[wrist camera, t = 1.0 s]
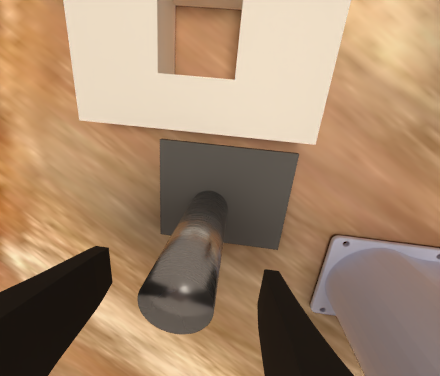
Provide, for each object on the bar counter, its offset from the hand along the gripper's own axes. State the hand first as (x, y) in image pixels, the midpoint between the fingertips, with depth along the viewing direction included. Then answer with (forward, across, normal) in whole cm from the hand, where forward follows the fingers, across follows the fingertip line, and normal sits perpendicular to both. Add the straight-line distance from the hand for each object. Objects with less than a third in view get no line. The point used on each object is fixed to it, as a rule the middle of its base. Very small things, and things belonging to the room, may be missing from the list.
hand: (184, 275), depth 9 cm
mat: (+8, -1, -1) cm, 8 cm away
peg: (+7, 0, 0) cm, 7 cm away
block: (+8, +1, -11) cm, 14 cm away
